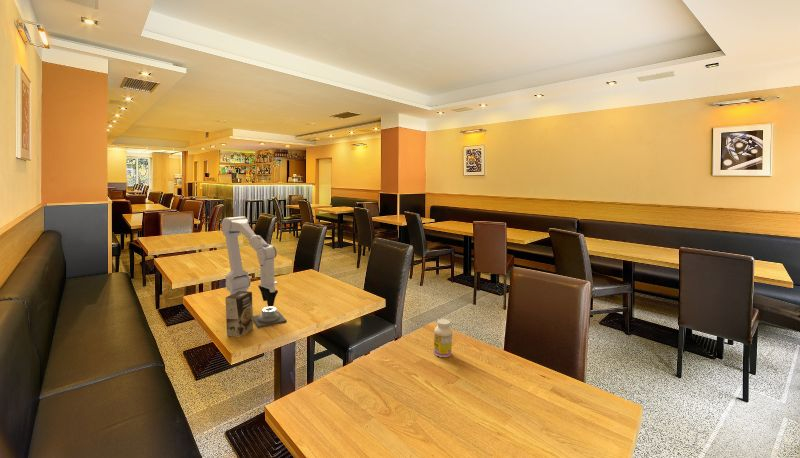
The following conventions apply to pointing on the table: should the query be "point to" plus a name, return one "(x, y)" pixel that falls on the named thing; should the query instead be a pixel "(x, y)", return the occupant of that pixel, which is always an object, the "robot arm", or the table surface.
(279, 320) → the hub
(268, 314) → the grey metal ring
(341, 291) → the table surface
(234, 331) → the coffee box
